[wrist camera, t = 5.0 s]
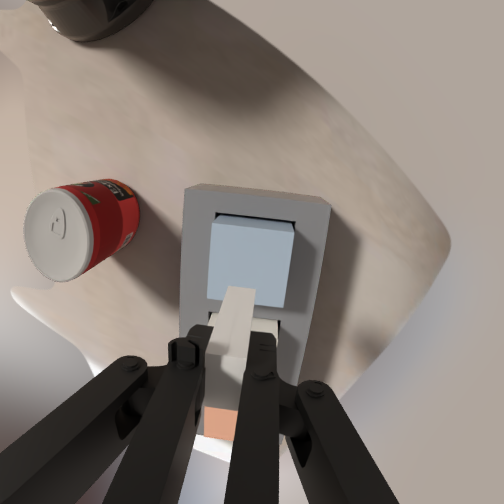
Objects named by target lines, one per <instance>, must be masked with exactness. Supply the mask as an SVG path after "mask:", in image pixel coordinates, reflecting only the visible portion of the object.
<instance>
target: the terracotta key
mask: <svg viewBox="0 0 504 504" xmlns="http://www.w3.org/2000/svg"><path fill="white" fill-rule="evenodd" d="M237 414H238V411H233V410H226V409H219V408H212V407H206V406H205V408H204V437H210V438H216V439H223V440H231V441H234V434H235V427H236V421H237Z"/></svg>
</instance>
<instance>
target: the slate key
mask: <svg viewBox="0 0 504 504" xmlns="http://www.w3.org/2000/svg"><path fill="white" fill-rule="evenodd" d="M293 239H294V230H293V226H292V223H291V221H288V220H280V219H272V218H263V217H255V216H246V215H237V214H228V213H221V214H220V215H219V216H218V217H217V218H216V219H215V220H214V221H213V222H212V228H211V242H210V256H209V271H208V287H207V298H208V299H215V300H222V301H223V300H224V297H225V294H226V291H227V288H228V286H235V287H243V288H251V289H256V293H255V301H254V305H263V306H272V307H281V308H283V306H284V300H285V293H286V287H287V280H288V274H289V267H290V260H291V253H292V246H293Z"/></svg>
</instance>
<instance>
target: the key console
mask: <svg viewBox="0 0 504 504" xmlns="http://www.w3.org/2000/svg"><path fill="white" fill-rule="evenodd" d="M330 212H331V204H329V203H328V202H326V201H325V200H324V199H322V198H321V197H316V196H308V195H301V194H293V193H285V192H277V191H269V190H260V189H251V188H241V187H232V186H221V185H211V184H198V185H195V186H192V187H189V188H186V189H185V194H184V208H183V225H182V244H181V269H180V312H179V338H181V337H186V336H187V334H188V332H189V329H190V328H192V327H193V326H195V325H196V324H200V325H208V322H209V320H210V317H211V315H212V312H216V313H219V311H220V308H221V305H222V302H223V301H222V300H215V299H208V298H207V287H208V271H209V256H210V242H211V228H212V222H213V221H214V220H215V219H216V218H217V217H218V216H219V215H220V214H221V213H228V214H237V215H246V216H255V217H263V218H272V219H280V220H288V221H291V223H292V226H293V230H294V239H293V246H292V253H291V260H290V267H289V274H288V280H287V287H286V293H285V300H284V306H283V308H281V307H272V306H263V305H254V309H253V317H255V318H264V319H273V320H277V323H278V342H277V373H278V375H279V377H280V378H281V379H282V380H283V381H285V382H286V383H289V384H291V385H294V386H297V382H298V378H299V374H300V370H301V365H302V361H303V357H304V352H305V348H306V343H307V339H308V334H309V329H310V324H311V320H312V315H313V310H314V305H315V300H316V294H317V289H318V284H319V278H320V273H321V267H322V262H323V256H324V250H325V244H326V238H327V232H328V225H329V219H330ZM204 408H205V406H203V403H202V408H201V418H200V422H199V426H198V429H197V433H196V434H198V435H204ZM283 437H284V435H282V434H279V444H280V445H281V444H282V440H283Z"/></svg>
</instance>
